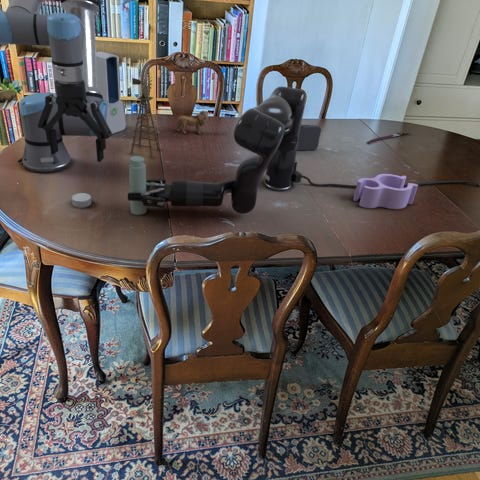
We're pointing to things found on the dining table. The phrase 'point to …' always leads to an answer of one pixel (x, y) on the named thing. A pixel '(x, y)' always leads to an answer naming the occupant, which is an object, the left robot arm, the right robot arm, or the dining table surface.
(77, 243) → the dining table surface
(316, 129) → the handheld gaming console
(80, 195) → the lid
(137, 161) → the green bottle
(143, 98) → the miniature windmill
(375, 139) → the sword
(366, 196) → the clip
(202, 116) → the lion figurine
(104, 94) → the electronic device
